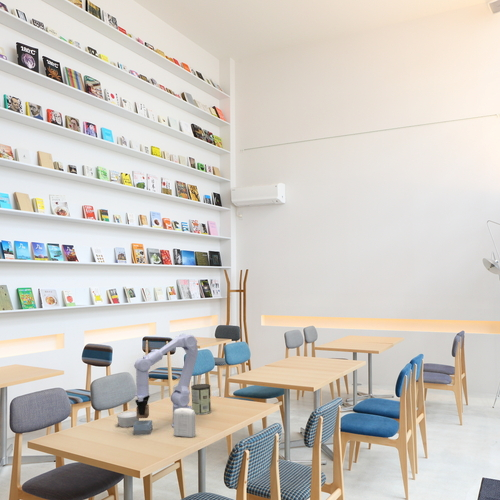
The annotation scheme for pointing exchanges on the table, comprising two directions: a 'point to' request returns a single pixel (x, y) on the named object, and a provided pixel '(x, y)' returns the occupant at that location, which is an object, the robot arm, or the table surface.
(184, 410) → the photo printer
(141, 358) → the robot arm
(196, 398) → the coffee can
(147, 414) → the walnut cube
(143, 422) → the tower top
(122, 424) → the ramekin
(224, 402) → the table surface
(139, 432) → the tower base
